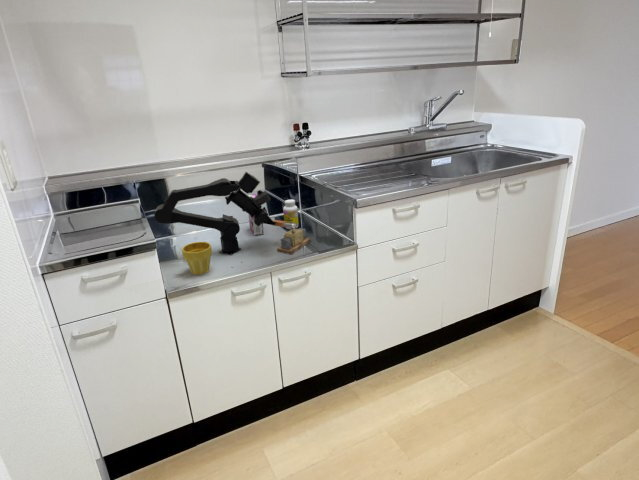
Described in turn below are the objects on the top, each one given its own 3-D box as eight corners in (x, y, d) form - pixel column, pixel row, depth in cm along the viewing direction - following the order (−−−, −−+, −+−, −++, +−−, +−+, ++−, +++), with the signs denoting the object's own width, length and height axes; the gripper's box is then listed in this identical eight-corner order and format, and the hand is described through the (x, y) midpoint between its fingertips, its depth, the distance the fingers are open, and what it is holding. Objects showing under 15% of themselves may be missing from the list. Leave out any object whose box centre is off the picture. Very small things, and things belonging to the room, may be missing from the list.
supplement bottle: (281, 228, 191) (279, 202, 186) (289, 224, 196) (287, 198, 192) (294, 230, 188) (292, 203, 183) (301, 225, 194) (299, 199, 189)
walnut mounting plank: (291, 254, 163) (291, 251, 162) (277, 251, 166) (276, 248, 166) (310, 241, 175) (310, 238, 174) (297, 238, 178) (296, 235, 177)
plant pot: (218, 272, 151) (214, 247, 147) (190, 279, 146) (185, 254, 143) (210, 262, 159) (206, 239, 156) (183, 269, 155) (178, 245, 151)
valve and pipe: (289, 250, 163) (288, 234, 161) (279, 248, 165) (278, 232, 163) (307, 238, 174) (306, 223, 172) (298, 236, 177) (297, 221, 174)
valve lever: (297, 227, 168) (297, 222, 167) (293, 229, 166) (293, 224, 165) (275, 223, 173) (274, 219, 172) (271, 225, 171) (271, 221, 170)
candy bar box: (264, 234, 185) (260, 199, 179) (253, 236, 184) (249, 201, 177) (260, 226, 195) (256, 193, 189) (249, 228, 194) (245, 194, 187)
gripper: (260, 191, 154) (291, 215, 161) (254, 181, 171) (282, 203, 177) (241, 214, 155) (273, 237, 162) (237, 201, 172) (265, 222, 179)
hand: (274, 224), depth 170 cm, fingers closed
